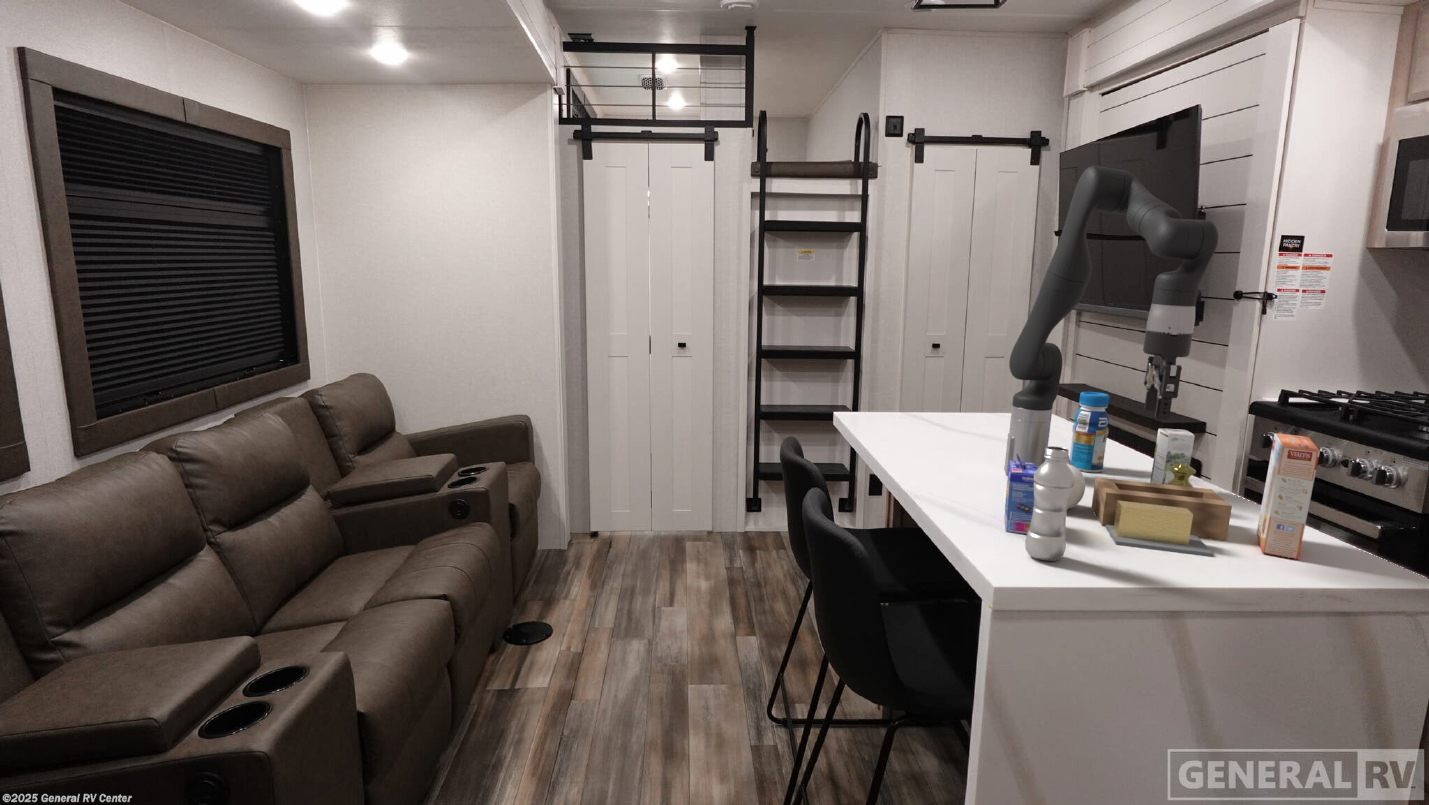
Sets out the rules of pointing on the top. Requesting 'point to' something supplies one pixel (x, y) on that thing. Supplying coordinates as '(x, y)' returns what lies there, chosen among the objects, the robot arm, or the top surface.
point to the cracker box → (1287, 495)
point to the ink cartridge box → (1019, 496)
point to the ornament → (1076, 486)
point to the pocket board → (1164, 503)
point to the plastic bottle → (1050, 506)
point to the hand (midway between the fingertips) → (1155, 414)
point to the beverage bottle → (1090, 432)
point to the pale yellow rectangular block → (1153, 522)
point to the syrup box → (1170, 453)
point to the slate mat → (1162, 544)
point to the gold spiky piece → (1181, 475)
